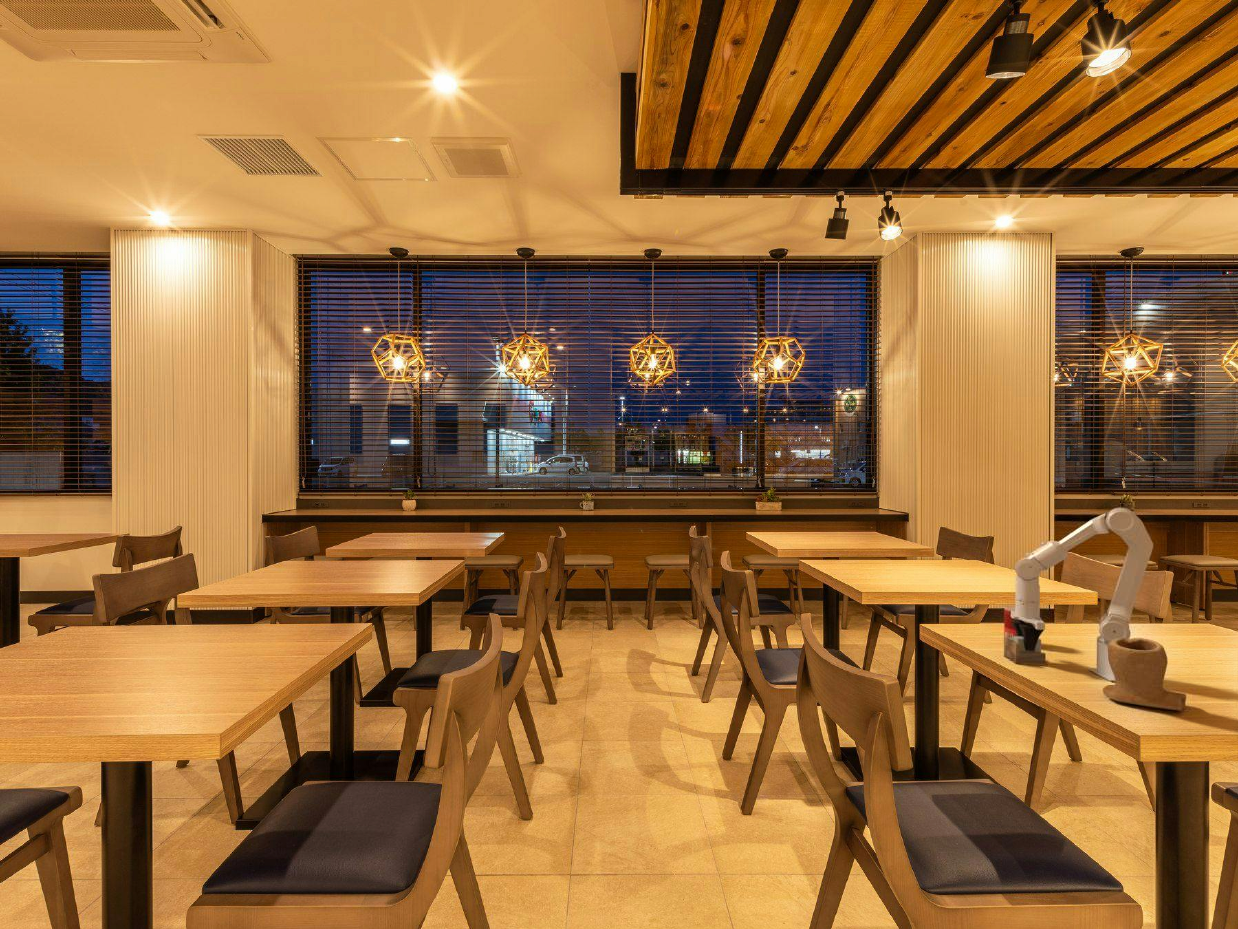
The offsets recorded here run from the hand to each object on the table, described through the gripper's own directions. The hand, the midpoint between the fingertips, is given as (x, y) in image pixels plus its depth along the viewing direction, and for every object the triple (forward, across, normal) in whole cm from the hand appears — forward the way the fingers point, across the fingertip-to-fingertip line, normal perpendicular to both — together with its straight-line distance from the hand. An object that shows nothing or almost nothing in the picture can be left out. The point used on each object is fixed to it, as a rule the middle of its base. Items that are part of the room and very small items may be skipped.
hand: (1027, 648), depth 172 cm
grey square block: (+3, 0, 0) cm, 3 cm away
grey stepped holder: (+3, 0, 0) cm, 3 cm away
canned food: (+4, -18, +6) cm, 20 cm away
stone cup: (+4, +30, +10) cm, 32 cm away
